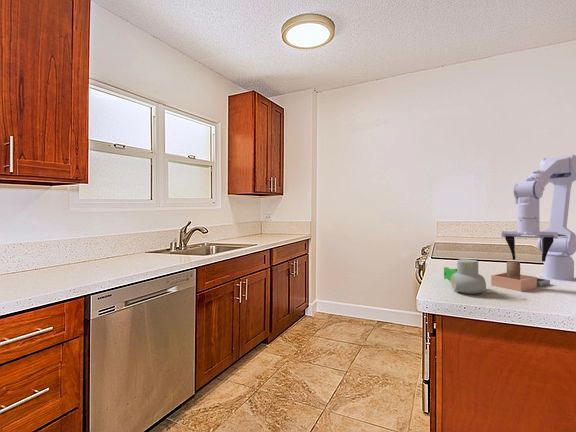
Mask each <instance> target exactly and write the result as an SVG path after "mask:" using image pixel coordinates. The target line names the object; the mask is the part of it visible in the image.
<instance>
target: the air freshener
mask: <svg viewBox="0 0 576 432" xmlns="http://www.w3.org/2000/svg"><path fill="white" fill-rule="evenodd" d="M456 269H457V273H454V274H453V275H452V276H451V281H450V282H451V283H450V285H451V287H452V289H453V290H454V291H456V292H457V291H458V292H457V293H460V294H466V295H467V294H468V295H476V294H477V295H478V294H479V293H480V294H481V293H482V292H484V291H485V290H487V289H486V288H487V281H486V278H484V276H483V275H481V274H480V273H479V261H478V260H476V259H467V258H466V259H465V258H461V259H457V261H456Z"/></svg>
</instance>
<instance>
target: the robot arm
mask: <svg viewBox="0 0 576 432" xmlns="http://www.w3.org/2000/svg"><path fill="white" fill-rule="evenodd" d="M575 181H576V154H571V155H564V156H562V155H561V156H555V157H548V158H547V157H544V158H543V157H542V159H541V160H540V163H539V169H536V170H535V169H534V170H532V172H531V173H530V174H529V175H528V176H526V178H525V179H524V180H523V181H518V182H517V183H515V184H514V186H513V196H514V198H515V205H516V206H517V210H516V212H517V214H516V215H517V230H515V231H514V230H506V231H505V230H501V234H500V235H501V238H505V241H506V244H507V245H508V248H509V250H510V252H511V256H512V260H513V261H515V260H516V251H515V250H516V249H515V245H516V244H515V243H516V242H515V238H517V239H518V238H519V239H520V238H524V239H525V238H526V239H529V238H530V239H537V243H536V244H537V249H538V250H539V252H540V253H541V262H543V275H540V276H539V278H541V279H547V280H551V281H552V280H553V281H559V282H568V281H572V280H576V277H575V261H574V259H573V257H572V256H573V255H574V254H575V253H576V233H575V232H573V230H571V229H569V228H567V227H568V218H569V217H568V216H569V209H570V200H571V190H572V184H573V183H574V182H575ZM548 184H553V191H552V199H551V208H550V216H549V225H548V227H546V228H544V229H542V230H540V223H541V222H540V220H541V219H540V199H541V198H542V197H543V194H544V191H545V187H547V185H548Z"/></svg>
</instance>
